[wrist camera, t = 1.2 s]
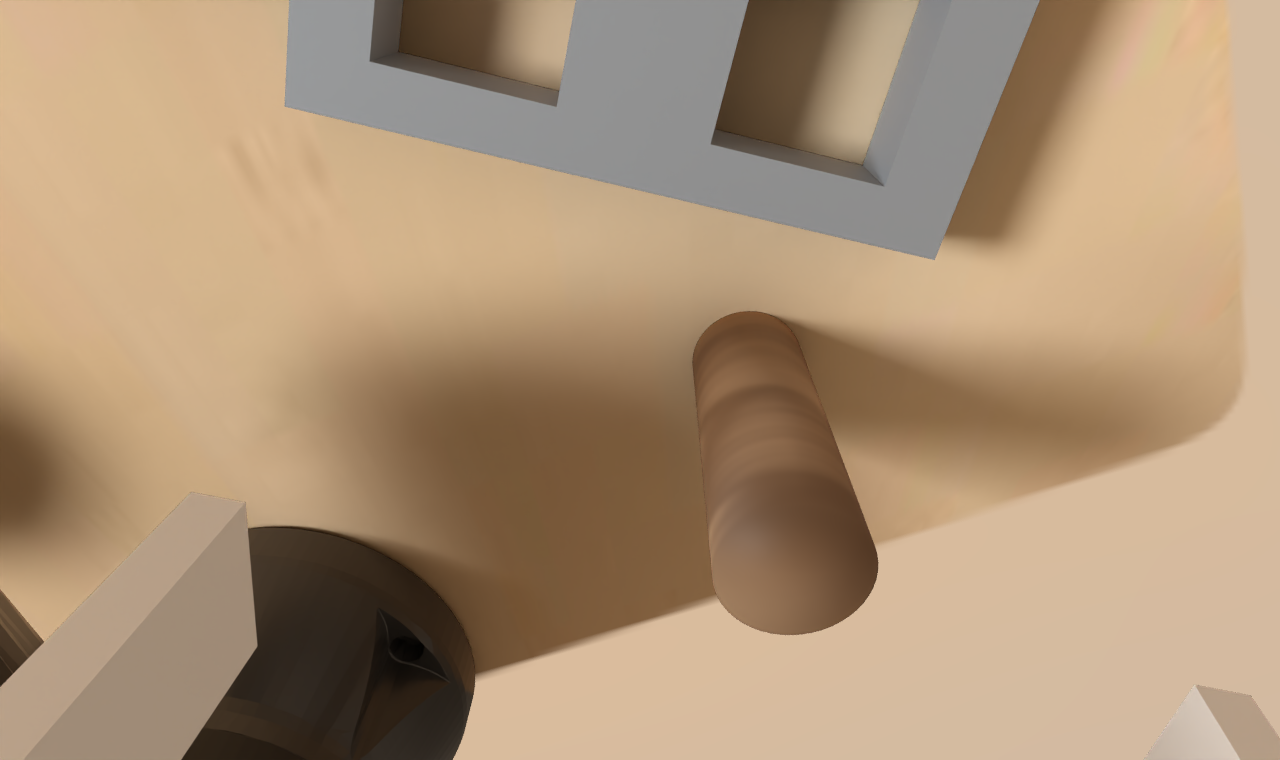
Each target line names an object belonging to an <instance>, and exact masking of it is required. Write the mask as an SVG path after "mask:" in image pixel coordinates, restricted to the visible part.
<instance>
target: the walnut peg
mask: <svg viewBox="0 0 1280 760" xmlns="http://www.w3.org/2000/svg"><path fill="white" fill-rule="evenodd" d="M693 374H694V385H695V396H696V407H697V417H698V428H699V439H700V450H701V461H702V472H703V483H704V493H705V504H706V515H707V526H708V537H709V548H710V559H711V570H712V580H713V585H714V589H715V592H716V594H717V597H718V599H719V600H720V602H721V603H722V605H723V606H724V607H725V609H727V611H728V612H729V613H731V615H732V616H734V617H735V618H736V619H738V620H739V621H741V622H742V623H744V624H746V625H748V626H750V627H752V628H755V629H757V630H760V631H764V632H768V633H773V634H780V635H799V634H806V633H812V632H816V631H819V630H823V629H826V628H828V627H831V626H833V625H835V624H837V623H839V622H841V621H842V620H844V619H846V618H847V617H849V616H850V615H851V614H852V613H854V612H855V611H856V610H857V609H858V608H859V607H860V606H861V605H862V604H863V603H864V602H865V600H866V599H867V597H868V596H869V594H870V593H871V591H872V589H873V587H874V584H875V581H876V578H877V573H878V557H877V552H876V549H875V545H874V543H873V540H872V537H871V535H870V532H869V529H868V527H867V524H866V521H865V519H864V516H863V513H862V511H861V508H860V505H859V503H858V500H857V497H856V495H855V492H854V489H853V487H852V484H851V481H850V479H849V476H848V473H847V471H846V468H845V466H844V463H843V460H842V458H841V455H840V452H839V450H838V447H837V444H836V442H835V439H834V436H833V434H832V431H831V428H830V426H829V423H828V420H827V418H826V415H825V412H824V410H823V407H822V404H821V402H820V399H819V396H818V394H817V391H816V388H815V386H814V383H813V380H812V378H811V375H810V372H809V370H808V367H807V364H806V362H805V359H804V356H803V354H802V351H801V348H800V346H799V343H798V341H797V339H796V337H795V335H794V334H793V332H792V331H791V330H790V328H789V327H788V326H787V325H786V324H784V323H783V322H782V321H780V320H779V319H777V318H775V317H773V316H771V315H768V314H765V313H760V312H750V311H747V312H739V313H734V314H731V315H728V316H725V317H723V318H721V319H719V320H718V321H716V322H715V323H713V324H712V325H711V326H710V327H708V329H707V330H706V331H705V332H704V333H703V334H702V336H701V337H700V339H699V341H698V342H697V344H696V347H695V350H694V354H693Z"/></svg>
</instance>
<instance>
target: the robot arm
mask: <svg viewBox="0 0 1280 760" xmlns="http://www.w3.org/2000/svg"><path fill="white" fill-rule="evenodd" d="M474 687H475V668H474V662H473V657H472V653H471V649H470V646H469V643H468V641H467V638H466V636H465V634H464V632H463V629H462V628H461V626H460V624H459V622H458V621H457V619H456V618H455V616H454V615H453V613H452V612H451V610H450V609H449V608H448V607H447V605H446V604H445V603H444V602H443V600H442V599H441V598H440V597H439V596H438V595H437V594H436V593H435V592H434V591H433V590H432V589H431V588H430V587H429V586H428V585H427V584H425V583H424V582H423V581H422V580H421V579H419V578H418V577H417V576H416V575H414V574H413V573H412V572H410V571H409V570H407V569H406V568H404V567H403V566H401V565H400V564H398V563H397V562H395V561H393V560H391V559H390V558H388V557H386V556H384V555H382V554H380V553H378V552H376V551H374V550H372V549H370V548H367V547H365V546H363V545H360V544H358V543H355V542H352V541H349V540H346V539H343V538H339V537H336V536H332V535H328V534H324V533H319V532H314V531H308V530H301V529H291V528H256V529H248V526H247V514H246V502H241V501H236V500H230V499H225V498H220V497H215V496H210V495H204V494H199V493H194V492H191V493H190V494H189V495H188V496H187V497H186V498H185V499H184V500H183V501H182V502H181V503H180V504H179V505H178V506H177V507H176V508H175V509H174V510H173V511H172V512H171V513H170V514H169V515H168V516H167V517H166V518H165V519H164V520H163V521H162V522H161V523H160V524H159V525H158V526H157V527H156V528H155V529H154V530H153V531H152V532H151V533H150V534H149V535H148V537H147V538H146V539H145V540H144V541H143V542H142V543H141V544H140V545H139V546H138V547H137V548H136V549H135V550H134V551H133V552H132V553H131V554H130V555H129V556H128V557H127V558H126V559H125V560H124V561H123V562H122V563H121V564H120V565H119V566H118V567H117V568H116V569H115V570H114V571H113V572H112V573H111V574H110V575H109V576H108V577H107V578H106V579H105V580H104V582H103V583H102V584H101V585H100V586H99V587H98V588H97V589H96V590H95V591H94V592H93V593H92V594H91V595H90V596H89V597H88V598H87V599H86V600H85V601H84V602H83V603H82V604H81V605H80V606H79V607H78V608H77V609H76V610H75V611H74V612H73V613H72V614H71V615H70V616H69V617H68V618H67V619H66V620H65V621H64V622H63V623H62V624H61V625H60V627H59V628H58V629H57V630H56V631H55V632H54V633H53V634H52V635H51V636H50V637H49V638H48V639H47V640H46V641H45V642H44V641H43V640H42V639H41V638H40V636H39V635H38V634H37V633H36V632H35V630H34V629H33V628H32V627H31V626H30V624H29V623H28V622H27V621H26V620H25V618H24V617H23V616H22V615H21V614H20V612H19V611H18V610H17V609H16V608H15V606H14V605H13V604H12V603H11V602H10V600H9V599H8V598H7V597H6V596H5V594H4V593H3V592H2V591H1V590H0V760H453V758H454V756H455V754H456V752H457V750H458V747H459V745H460V743H461V740H462V737H463V734H464V731H465V727H466V723H467V718H468V715H469V711H470V707H471V703H472V699H473V695H474ZM1144 760H1280V738H1279V736H1278V735H1277V733H1276V732H1275V730H1274V729H1273V728H1272V726H1271V725H1270V723H1269V722H1268V720H1267V719H1266V717H1265V716H1264V714H1263V713H1262V711H1261V710H1260V708H1259V707H1258V705H1257V704H1256V702H1255V701H1254V699H1253V698H1252V696H1250V695H1246V694H1241V693H1236V692H1230V691H1225V690H1220V689H1214V688H1210V687H1204V686H1199V685H1194V686H1193V688H1192V689H1191V690H1190V692H1189V693H1188V695H1187V696H1186V698H1185V699H1184V701H1183V702H1182V704H1181V705H1180V707H1179V708H1178V710H1177V711H1176V713H1175V714H1174V716H1173V717H1172V719H1171V720H1170V722H1169V723H1168V725H1167V726H1166V728H1165V729H1164V730H1163V732H1162V733H1161V735H1160V736H1159V738H1158V739H1157V741H1156V742H1155V744H1154V745H1153V747H1152V748H1151V750H1150V751H1149V752H1148V754H1147V756H1146V757H1145V758H1144Z"/></svg>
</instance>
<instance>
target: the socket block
mask: <svg viewBox="0 0 1280 760" xmlns="http://www.w3.org/2000/svg"><path fill="white" fill-rule="evenodd" d="M748 1H749V0H576V3H575V9H574V14H573V20H572V25H571V31H570V36H569V42H568V47H567V53H566V58H565V64H564V69H563V75H562V80H561V86H560V91H557V90H552V89H548V88H544V87H540V86H536V85H532V84H528V83H524V82H520V81H516V80H512V79H507V78H503V77H499V76H495V75H491V74H487V73H483V72H479V71H475V70H471V69H467V68H463V67H458V66H454V65H450V64H446V63H442V62H438V61H434V60H430V59H426V58H422V57H418V56H413V55H409V54H405V53H401V52H398V50H399V40H400V30H401V20H402V10H403V0H289V19H288V42H287V65H286V88H285V107H289V108H293V109H297V110H302V111H306V112H310V113H314V114H318V115H323V116H327V117H331V118H335V119H340V120H344V121H348V122H352V123H357V124H361V125H365V126H369V127H373V128H378V129H382V130H386V131H390V132H395V133H399V134H403V135H407V136H412V137H416V138H420V139H424V140H429V141H433V142H437V143H441V144H445V145H450V146H454V147H458V148H462V149H467V150H471V151H475V152H479V153H484V154H488V155H492V156H496V157H500V158H505V159H509V160H513V161H517V162H522V163H526V164H530V165H534V166H539V167H543V168H547V169H551V170H555V171H560V172H564V173H568V174H572V175H577V176H581V177H585V178H589V179H594V180H598V181H602V182H606V183H611V184H615V185H619V186H623V187H627V188H632V189H636V190H640V191H644V192H649V193H653V194H657V195H661V196H666V197H670V198H674V199H678V200H682V201H687V202H691V203H695V204H699V205H704V206H708V207H712V208H716V209H721V210H725V211H729V212H733V213H738V214H742V215H746V216H750V217H754V218H759V219H763V220H767V221H771V222H776V223H780V224H784V225H788V226H793V227H797V228H801V229H805V230H809V231H814V232H818V233H822V234H826V235H831V236H835V237H839V238H843V239H848V240H852V241H856V242H860V243H865V244H869V245H873V246H877V247H881V248H886V249H890V250H894V251H898V252H903V253H907V254H911V255H915V256H920V257H924V258H928V259H932V260H935V258H936V255H937V253H938V250H939V248H940V245H941V243H942V240H943V238H944V235H945V233H946V230H947V228H948V226H949V223H950V221H951V218H952V216H953V213H954V211H955V208H956V206H957V203H958V201H959V198H960V196H961V193H962V191H963V189H964V186H965V184H966V181H967V179H968V176H969V174H970V171H971V169H972V166H973V164H974V161H975V159H976V156H977V154H978V152H979V149H980V147H981V144H982V142H983V139H984V137H985V134H986V132H987V129H988V127H989V124H990V122H991V120H992V117H993V115H994V112H995V110H996V107H997V105H998V102H999V100H1000V97H1001V95H1002V92H1003V90H1004V87H1005V85H1006V83H1007V80H1008V78H1009V75H1010V73H1011V70H1012V68H1013V65H1014V63H1015V60H1016V58H1017V55H1018V53H1019V50H1020V48H1021V46H1022V43H1023V41H1024V38H1025V36H1026V33H1027V31H1028V28H1029V26H1030V23H1031V21H1032V18H1033V16H1034V13H1035V11H1036V9H1037V6H1038V4H1039V1H1040V0H920V2H919V5H918V7H917V10H916V13H915V16H914V19H913V22H912V25H911V28H910V30H909V33H908V36H907V39H906V42H905V45H904V48H903V51H902V53H901V56H900V59H899V62H898V65H897V68H896V71H895V74H894V76H893V79H892V82H891V85H890V88H889V91H888V94H887V97H886V99H885V102H884V105H883V108H882V111H881V114H880V117H879V120H878V122H877V125H876V128H875V131H874V134H873V137H872V140H871V143H870V145H869V148H868V151H867V154H866V157H865V160H864V163H863V165H859V164H855V163H851V162H847V161H843V160H839V159H834V158H830V157H826V156H822V155H818V154H814V153H810V152H806V151H802V150H798V149H794V148H789V147H785V146H781V145H777V144H773V143H769V142H765V141H761V140H757V139H753V138H749V137H745V136H740V135H736V134H732V133H728V132H724V131H720V130H716V129H715V125H716V122H717V118H718V114H719V110H720V106H721V103H722V99H723V95H724V91H725V88H726V84H727V80H728V76H729V73H730V69H731V65H732V61H733V57H734V54H735V50H736V46H737V42H738V39H739V35H740V31H741V27H742V23H743V20H744V16H745V12H746V8H747V5H748Z"/></svg>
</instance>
